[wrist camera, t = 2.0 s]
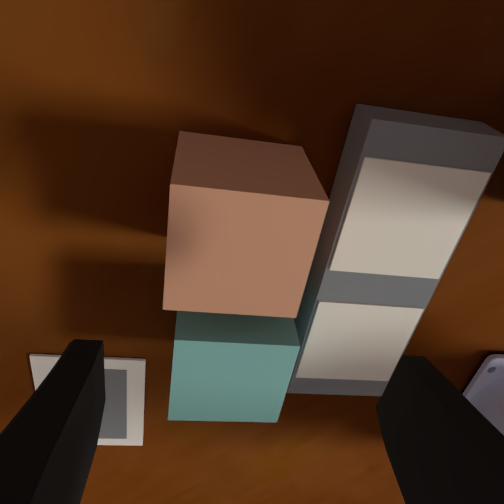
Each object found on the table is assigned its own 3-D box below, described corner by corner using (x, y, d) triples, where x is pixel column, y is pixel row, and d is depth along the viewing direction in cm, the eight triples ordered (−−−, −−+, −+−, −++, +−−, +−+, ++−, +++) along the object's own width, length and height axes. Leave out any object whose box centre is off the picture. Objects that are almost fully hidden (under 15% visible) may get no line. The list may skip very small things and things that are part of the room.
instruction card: (142, 443, 28) (142, 446, 28) (45, 441, 27) (44, 445, 27) (145, 358, 24) (145, 362, 24) (30, 353, 23) (28, 357, 23)
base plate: (370, 368, 26) (382, 397, 24) (281, 364, 25) (287, 394, 23) (482, 121, 18) (512, 139, 16) (356, 103, 17) (373, 119, 15)
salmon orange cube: (278, 246, 20) (296, 317, 16) (172, 236, 20) (162, 309, 16) (301, 145, 18) (329, 201, 14) (179, 130, 17) (170, 183, 13)
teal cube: (265, 343, 24) (276, 422, 20) (174, 339, 23) (167, 420, 19) (282, 272, 21) (300, 346, 17) (181, 264, 21) (174, 340, 16)
